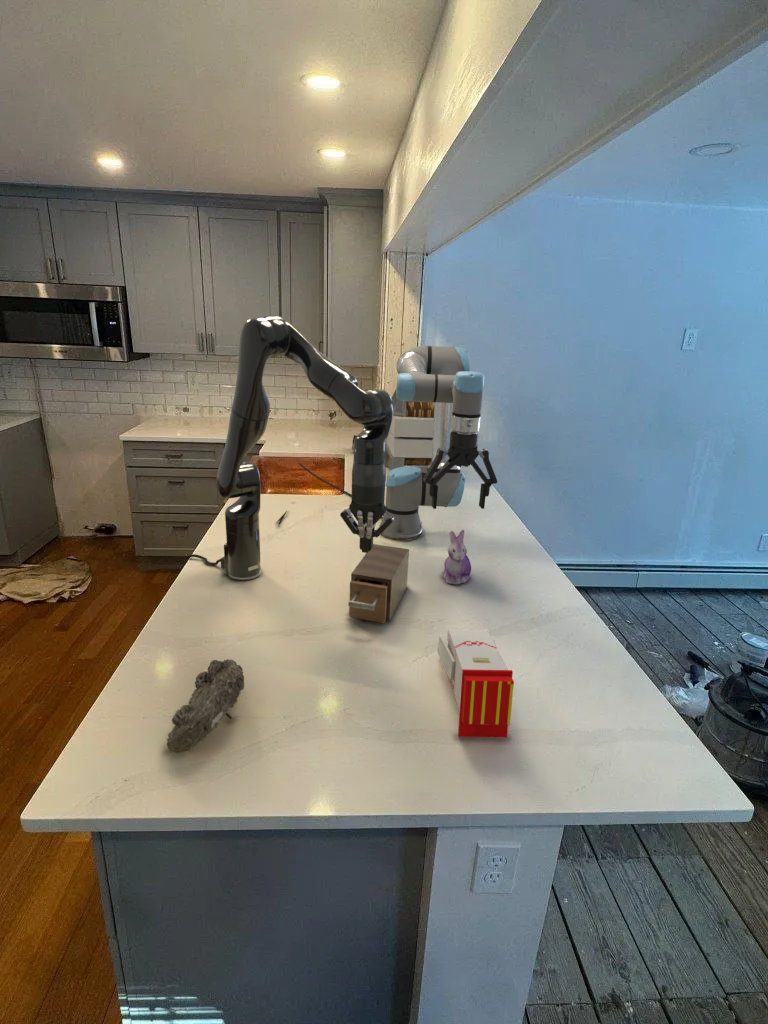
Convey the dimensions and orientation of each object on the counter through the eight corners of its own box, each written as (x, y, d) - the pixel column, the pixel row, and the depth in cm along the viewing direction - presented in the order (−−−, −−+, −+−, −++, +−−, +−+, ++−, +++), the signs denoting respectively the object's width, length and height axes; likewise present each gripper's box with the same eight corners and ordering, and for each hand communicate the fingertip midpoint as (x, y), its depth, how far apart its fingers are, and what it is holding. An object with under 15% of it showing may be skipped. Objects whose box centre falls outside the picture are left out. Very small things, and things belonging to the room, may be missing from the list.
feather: (294, 505, 227) (296, 501, 226) (277, 528, 200) (280, 524, 199) (290, 503, 226) (292, 499, 226) (273, 526, 200) (276, 521, 199)
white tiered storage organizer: (382, 463, 289) (386, 382, 275) (445, 464, 293) (451, 384, 279) (390, 482, 257) (394, 392, 243) (460, 483, 261) (468, 394, 247)
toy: (488, 613, 130) (523, 677, 101) (484, 667, 133) (517, 744, 104) (435, 612, 130) (455, 676, 101) (432, 666, 133) (451, 743, 103)
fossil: (192, 660, 117) (244, 628, 112) (224, 691, 120) (276, 661, 115) (142, 746, 98) (202, 712, 93) (182, 779, 101) (242, 748, 96)
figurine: (453, 588, 162) (457, 540, 157) (434, 573, 170) (437, 527, 165) (479, 582, 166) (485, 535, 161) (459, 568, 175) (464, 523, 170)
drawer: (378, 634, 136) (380, 598, 133) (341, 628, 138) (342, 592, 135) (401, 589, 158) (403, 558, 155) (369, 584, 160) (370, 553, 157)
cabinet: (389, 621, 144) (391, 579, 140) (350, 614, 146) (351, 573, 142) (406, 586, 162) (409, 549, 158) (371, 581, 164) (373, 543, 160)
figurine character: (364, 456, 305) (364, 447, 319) (364, 443, 302) (364, 434, 315) (351, 456, 305) (352, 446, 318) (351, 443, 302) (352, 434, 315)
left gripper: (335, 481, 125) (334, 553, 131) (393, 488, 122) (389, 561, 128) (345, 473, 132) (344, 541, 138) (401, 479, 129) (397, 549, 135)
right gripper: (421, 434, 145) (416, 511, 152) (514, 435, 148) (505, 511, 156) (416, 428, 152) (411, 502, 159) (505, 429, 155) (496, 502, 163)
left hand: (366, 551), depth 133 cm, fingers closed
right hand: (457, 507), depth 157 cm, fingers open, 13 cm apart
